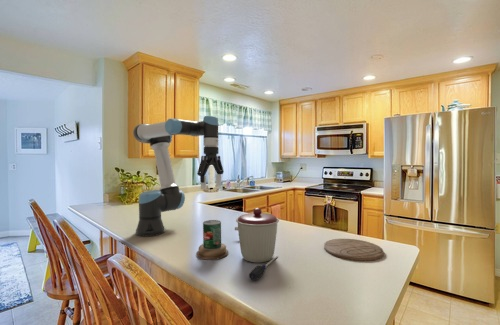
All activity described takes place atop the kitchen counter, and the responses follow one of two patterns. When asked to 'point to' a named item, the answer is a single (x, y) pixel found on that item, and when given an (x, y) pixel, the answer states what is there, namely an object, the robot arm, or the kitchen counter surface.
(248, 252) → the canister
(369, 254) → the trivet
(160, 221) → the robot arm
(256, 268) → the screwdriver
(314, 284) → the kitchen counter surface
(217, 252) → the pedestal
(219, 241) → the canned tomato
